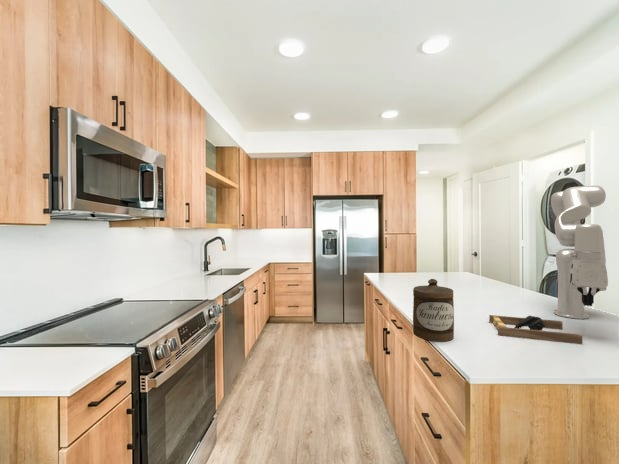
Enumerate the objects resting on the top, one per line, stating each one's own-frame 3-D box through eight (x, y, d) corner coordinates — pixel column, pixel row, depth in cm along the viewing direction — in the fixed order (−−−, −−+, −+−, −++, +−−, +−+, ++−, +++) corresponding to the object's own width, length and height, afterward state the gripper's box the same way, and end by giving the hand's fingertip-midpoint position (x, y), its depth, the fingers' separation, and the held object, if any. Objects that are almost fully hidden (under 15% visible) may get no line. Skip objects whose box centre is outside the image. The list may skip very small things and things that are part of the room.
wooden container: (417, 341, 114) (417, 282, 113) (409, 328, 128) (409, 275, 128) (459, 343, 112) (459, 282, 111) (447, 329, 126) (447, 276, 126)
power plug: (506, 326, 127) (532, 311, 125) (518, 342, 126) (544, 326, 124) (512, 331, 121) (540, 315, 119) (525, 347, 120) (553, 331, 119)
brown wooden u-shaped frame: (489, 321, 136) (489, 314, 136) (560, 328, 127) (560, 320, 127) (498, 335, 119) (498, 327, 119) (582, 344, 110) (582, 335, 110)
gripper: (567, 256, 115) (567, 305, 115) (619, 258, 110) (619, 309, 110) (559, 255, 122) (559, 301, 122) (607, 256, 117) (607, 304, 117)
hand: (587, 305), depth 116 cm, fingers closed
